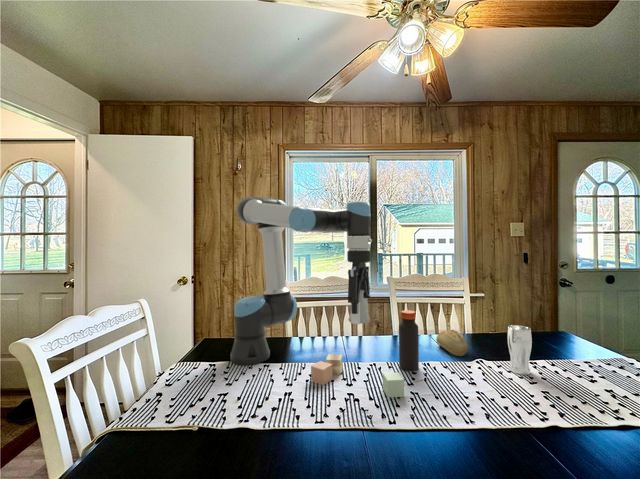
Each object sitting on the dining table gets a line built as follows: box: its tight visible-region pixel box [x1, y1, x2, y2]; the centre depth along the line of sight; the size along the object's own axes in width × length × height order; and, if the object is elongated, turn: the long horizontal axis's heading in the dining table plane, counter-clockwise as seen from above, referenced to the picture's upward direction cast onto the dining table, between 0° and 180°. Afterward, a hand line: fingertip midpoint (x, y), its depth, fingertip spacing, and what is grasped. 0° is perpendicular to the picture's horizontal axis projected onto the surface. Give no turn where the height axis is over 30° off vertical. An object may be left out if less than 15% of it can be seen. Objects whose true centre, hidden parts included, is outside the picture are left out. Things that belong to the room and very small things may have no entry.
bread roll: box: [436, 329, 469, 357], centre depth 123 cm, size 10×15×8 cm, turn 12°
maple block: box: [325, 353, 343, 376], centre depth 106 cm, size 5×5×5 cm
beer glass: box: [507, 324, 533, 376], centre depth 104 cm, size 7×7×15 cm
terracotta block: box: [310, 360, 333, 386], centre depth 99 cm, size 5×5×5 cm
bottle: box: [398, 309, 420, 372], centre depth 108 cm, size 7×7×20 cm
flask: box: [348, 290, 371, 325], centre depth 97 cm, size 7×7×10 cm
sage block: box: [382, 371, 405, 398], centre depth 90 cm, size 5×5×5 cm
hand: (359, 320), depth 97 cm, fingers closed on flask, 7 cm apart
